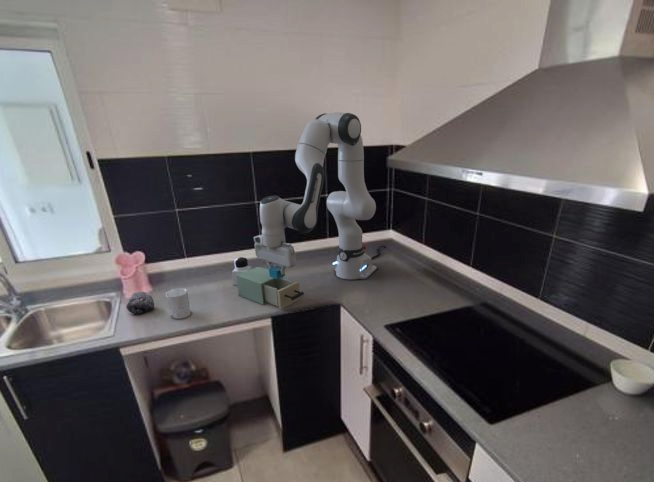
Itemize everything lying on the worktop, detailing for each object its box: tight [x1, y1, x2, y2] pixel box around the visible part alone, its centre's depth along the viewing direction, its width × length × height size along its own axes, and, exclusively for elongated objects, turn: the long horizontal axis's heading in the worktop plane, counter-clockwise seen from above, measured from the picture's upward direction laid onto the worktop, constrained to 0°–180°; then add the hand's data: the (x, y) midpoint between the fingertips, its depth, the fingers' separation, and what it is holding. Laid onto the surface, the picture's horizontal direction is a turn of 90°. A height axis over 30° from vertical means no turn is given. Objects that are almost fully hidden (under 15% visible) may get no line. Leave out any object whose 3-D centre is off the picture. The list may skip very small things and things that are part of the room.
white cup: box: [165, 287, 191, 320], centre depth 150 cm, size 8×8×10 cm
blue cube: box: [268, 265, 286, 279], centre depth 155 cm, size 4×4×4 cm
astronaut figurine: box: [231, 256, 253, 286], centre depth 177 cm, size 7×7×12 cm
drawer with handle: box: [262, 277, 305, 310], centre depth 159 cm, size 19×11×8 cm, turn 53°
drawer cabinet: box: [236, 266, 284, 305], centre depth 166 cm, size 16×13×10 cm
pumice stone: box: [125, 291, 156, 315], centre depth 155 cm, size 10×8×10 cm
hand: (277, 272), depth 156 cm, fingers closed on blue cube, 4 cm apart
